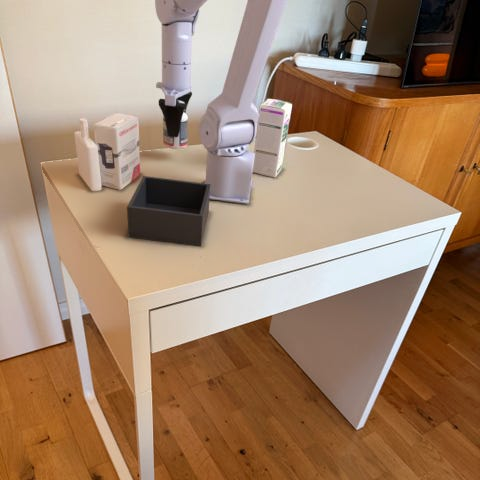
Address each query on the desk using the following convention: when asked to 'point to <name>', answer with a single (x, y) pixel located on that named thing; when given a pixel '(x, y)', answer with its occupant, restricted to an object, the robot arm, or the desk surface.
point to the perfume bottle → (87, 157)
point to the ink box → (118, 149)
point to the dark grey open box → (169, 210)
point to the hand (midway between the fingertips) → (175, 131)
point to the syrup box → (271, 136)
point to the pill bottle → (182, 137)
